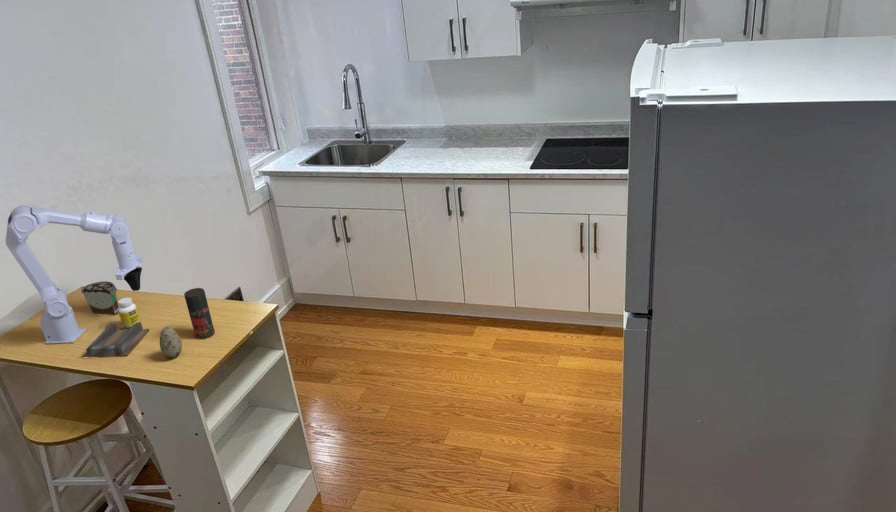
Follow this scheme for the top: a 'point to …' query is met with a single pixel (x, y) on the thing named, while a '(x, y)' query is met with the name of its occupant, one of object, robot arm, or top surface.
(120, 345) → the bottle rest
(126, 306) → the supplement bottle
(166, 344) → the decorative egg
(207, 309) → the deodorant
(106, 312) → the food container
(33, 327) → the top surface
